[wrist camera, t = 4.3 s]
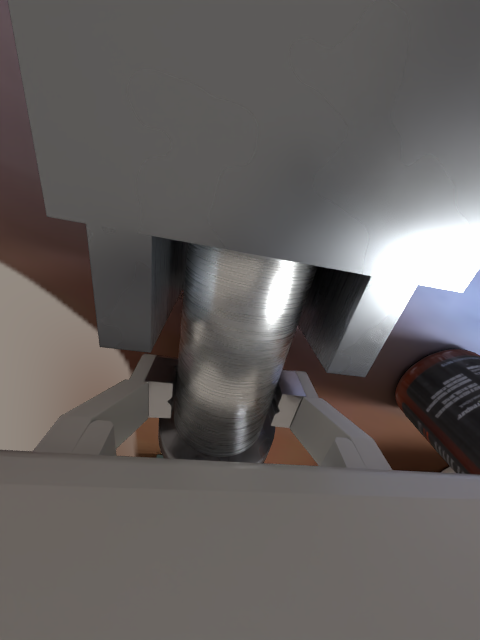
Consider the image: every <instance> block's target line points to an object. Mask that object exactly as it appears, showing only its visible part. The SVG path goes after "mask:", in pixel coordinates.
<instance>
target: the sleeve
mask: <svg viewBox="0 0 480 640" xmlns="http://www.w3.org/2000/svg"><path fill="white" fill-rule="evenodd" d="M8 5H9V11H10V16H11V22H12V27H13V33H14V38H15V44H16V49H17V55H18V60H19V66H20V71H21V77H22V82H23V88H24V93H25V99H26V104H27V110H28V115H29V121H30V126H31V132H32V137H33V143H34V148H35V154H36V159H37V165H38V170H39V176H40V181H41V187H42V192H43V198H44V203H45V209H46V214H47V217H52V218H58V219H63V220H69V221H74V222H80V223H85V224H86V228H87V237H88V246H89V255H90V264H91V273H92V282H93V291H94V300H95V309H96V318H97V327H98V336H99V345H100V347H105V348H114V349H123V350H132V351H140V352H149V353H151V351H152V349H153V347H154V345H155V343H156V341H157V339H158V337H159V335H160V333H161V331H162V329H163V327H164V325H165V323H166V321H167V319H168V317H169V315H170V313H171V311H172V309H173V307H174V305H175V303H176V301H177V299H178V297H179V295H180V293H181V291H182V290H184V282H185V270H186V257H187V245H188V242H189V243H194V244H199V245H205V246H210V247H216V248H221V249H227V250H232V251H238V252H243V253H249V254H254V255H259V256H265V257H270V258H276V259H281V260H287V261H292V262H298V263H303V264H309V265H314V266H318V267H317V270H316V273H315V276H314V279H313V282H312V285H311V288H310V290H309V293H308V296H307V299H306V302H305V305H304V308H303V311H302V314H301V317H300V319H299V322H298V326H299V327H300V329H301V331H302V332H303V334H304V336H305V337H306V339H307V341H308V342H309V344H310V346H311V347H312V349H313V351H314V352H315V354H316V356H317V357H318V359H319V361H320V362H321V364H322V366H323V367H324V369H325V371H326V372H327V373H334V374H342V375H351V376H360V377H366V375H367V373H368V371H369V370H370V368H371V366H372V364H373V363H374V361H375V359H376V357H377V355H378V354H379V352H380V350H381V348H382V347H383V345H384V343H385V341H386V340H387V338H388V336H389V334H390V333H391V331H392V329H393V327H394V326H395V324H396V322H397V320H398V318H399V317H400V315H401V313H402V311H403V310H404V308H405V306H406V304H407V303H408V301H409V299H410V297H411V296H412V294H413V292H414V290H415V289H416V287H417V285H423V286H428V287H434V288H439V289H445V290H450V291H456V292H461V293H463V292H464V290H465V289H466V287H467V286H468V284H469V283H470V281H471V280H472V278H473V277H474V275H475V274H476V272H477V271H478V269H479V268H480V0H8Z"/></svg>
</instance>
